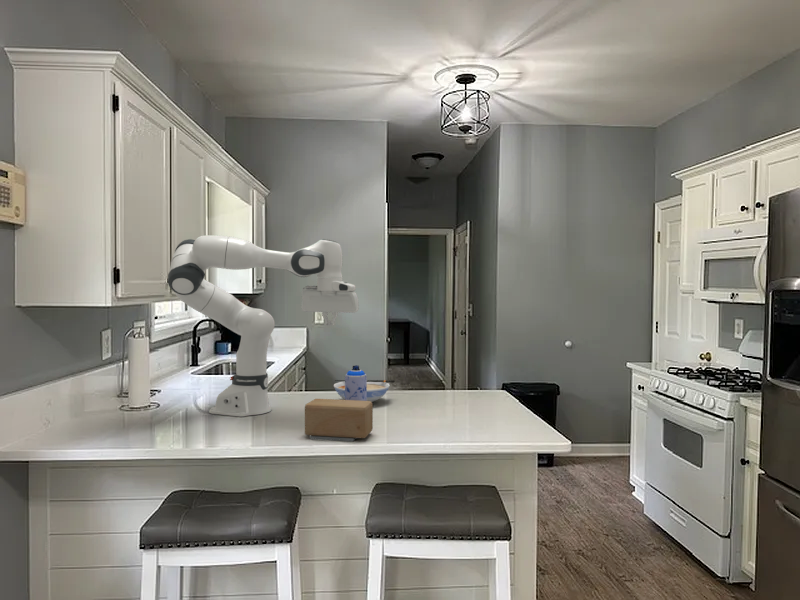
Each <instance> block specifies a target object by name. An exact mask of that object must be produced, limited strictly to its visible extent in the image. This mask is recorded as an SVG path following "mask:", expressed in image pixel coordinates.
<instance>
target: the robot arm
mask: <svg viewBox="0 0 800 600" xmlns="http://www.w3.org/2000/svg"><path fill="white" fill-rule="evenodd" d="M210 268H216V269H225V270H233V271H234V270H235V271H236V270H249V269H253V268H254V269H255V268H270V269H278V270H284V271H288V272H290V273H292V274H293V275H295V276H297V277H300V278H307V277H310V276H312V275H316V285H306V286H304V287H303V288H302V289H301V297H302V299H301V305H300V306H301V311H302V312H303V313H321V315H322V317H323V320H324V325H325V326H335V325H336V324H335V320H336V319H337V317H338V316H339V315H338V314H339V313H354V314H355V313H357V312H358V311H359V309H360V308H359V306H360V305H359V297H358V294H357V293H356V292H355V291H356V285H355V284H353V283H350V282H347V281H343V274H342V268H343V250H342V246H341V244H340V243H339V242H338V241H335V240H332V239H325V238H323V239H319V240H318V241H317V242H314V243H313V244H311V245H309V246H306V247H303V248H300V249H298V250H295V251H291V252H288V251H287V252H286V251H279V250H271V249H265V248H262V247H260V246H258V245H257V244H254V243H253V242H252V241H249V240H247V239H244V238H243V239H242V238H239V237H235V236H228V235H218V234H215V235H214V234H209V235H200V236H198V237H197V238H195V239H192V238H189V239H184V240H182V241H181V242H179V244H178V245H177V246H176V248H175V250H174V253H173V254H172V258H171V260H170V266H169V272H168V274H167V283H168V286H169V289H170V290H171V291H172V292H174V293H175V296H176V297H177V299H179V300H180V301H181V302H182V303H184V304H185V305H187V306H188V307H190V308H191V309H193V310H195V311H197V312H198V313H200V314H202V315H204V316H206V317H207V318H209V319H211V320H214V321H215V322H217V323H219V324H221V325H222V326H223V327H225V328H227V329H228V330H230V331H231V332H233V333H235V334H237V335H238V336H240V342H239V346H238V349H237V352H236V355H235V357H236V359H235V360H236V362H235V364H236V365H235V368H236V369H235V371H236V374H234V375H231V376H230V377H229V381H231V384H230V385H229V386H227V388H225V389H224V390H222V391H221V392H220V393H219V394H218V395H217V397H216V400H215V406H213V407H211V408H210V409H209V410H208V411H209V412H208V413H209V414H213V415H224V416H231V417H248V416H255V415H261V414H266V413H269V412H271V411H272V409H271V408H272V407H271V405H270V404H271V403H270V401H269V392H268V386H269V376H268V372H267V355H268V348H269V342H270V338H271V334H272V333H273V331H274V329H275V324H276V322H275V319H274V317H273V316H272V315H271V313H269V312H268V311H266V310H265V309H261V308H255V307H252V306H251V307H250V306H248V305H246V304H244V303H243V302H242V301H241V300H239V299H238V298H237V297H235V296H234V295H233V294H231V293H230V292H228V291H226V290H224V289H222V288H220V287H219V286H217V285H215V284H213V283H212V282H211V281H208V280H206V279H205V276H206V273H205V272H206V270H208V269H210ZM329 313H331V316H332V319H329V318H328V314H329Z"/></svg>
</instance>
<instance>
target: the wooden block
mask: <svg viewBox="0 0 800 600" xmlns="http://www.w3.org/2000/svg"><path fill="white" fill-rule="evenodd" d="M373 413H374V412H373V402H371V401H359V400H345V399H334V398H333V399H331V398H315V399H313V400H311V401H309V402H308V403H306V404H305V405H304V435H306V436H311V435H313V436H331V437H348V438H356V439H365V438H367V437H368V436H369V435H370V433H372V431H373V426H374V425H373V418H374V417H373Z"/></svg>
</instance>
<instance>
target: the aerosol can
mask: <svg viewBox="0 0 800 600" xmlns="http://www.w3.org/2000/svg"><path fill="white" fill-rule="evenodd" d="M367 377H368V376H367V373H366V372H365V371H364V370H362V369H360V366H359V365H352V369H350V370H348V371H347V373H345V376H344V380H345V399H344V400H359V401H367V380H368V378H367Z"/></svg>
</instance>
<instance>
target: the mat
mask: <svg viewBox="0 0 800 600" xmlns="http://www.w3.org/2000/svg"><path fill="white" fill-rule="evenodd" d="M309 439H310V440H319V441H320V440H322V441H340V442H355V440H356V439H357V438H348V437H331V436H313V435H309Z"/></svg>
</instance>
